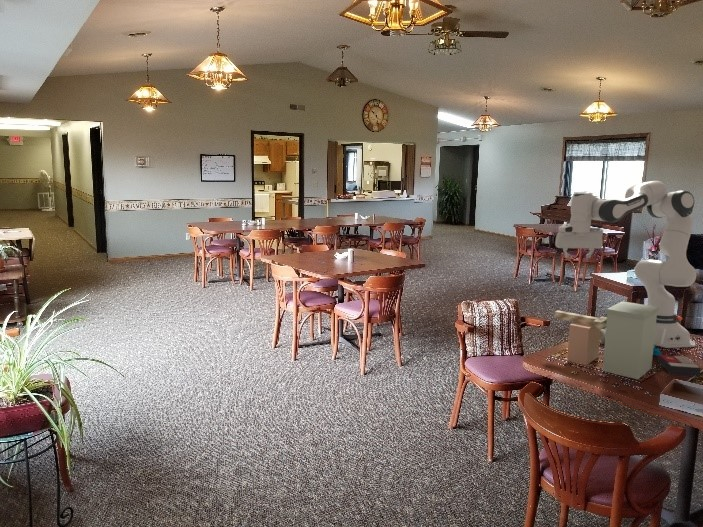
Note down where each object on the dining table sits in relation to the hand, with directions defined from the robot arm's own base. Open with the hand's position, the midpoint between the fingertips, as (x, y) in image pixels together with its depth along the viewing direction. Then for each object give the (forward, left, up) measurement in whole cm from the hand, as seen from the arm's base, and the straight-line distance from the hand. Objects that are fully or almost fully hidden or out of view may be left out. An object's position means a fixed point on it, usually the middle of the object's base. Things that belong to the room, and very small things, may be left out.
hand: (577, 257), depth 248 cm
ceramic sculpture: (-20, 0, -42) cm, 46 cm away
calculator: (-33, +30, -42) cm, 61 cm away
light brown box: (+2, +21, -41) cm, 46 cm away
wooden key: (+4, +19, -25) cm, 32 cm away
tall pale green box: (-12, +32, -41) cm, 54 cm away
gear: (-28, +15, -41) cm, 52 cm away
